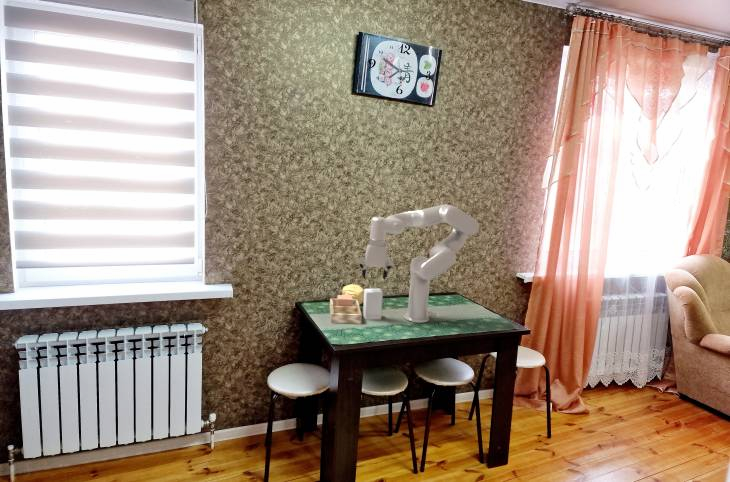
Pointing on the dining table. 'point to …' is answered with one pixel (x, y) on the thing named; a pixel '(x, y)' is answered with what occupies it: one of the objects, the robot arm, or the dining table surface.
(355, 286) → the sculpture
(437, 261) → the robot arm
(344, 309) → the crate
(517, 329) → the dining table surface
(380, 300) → the skincare box
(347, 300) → the peach cube
